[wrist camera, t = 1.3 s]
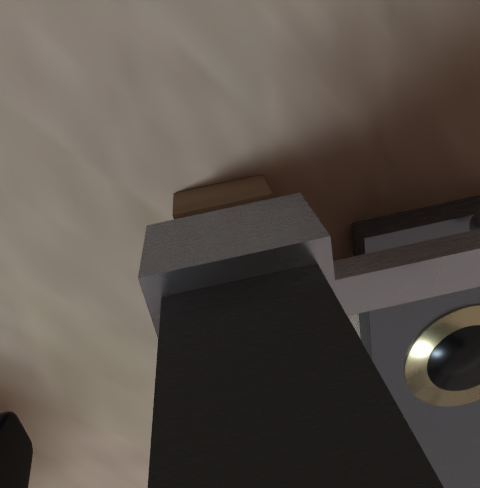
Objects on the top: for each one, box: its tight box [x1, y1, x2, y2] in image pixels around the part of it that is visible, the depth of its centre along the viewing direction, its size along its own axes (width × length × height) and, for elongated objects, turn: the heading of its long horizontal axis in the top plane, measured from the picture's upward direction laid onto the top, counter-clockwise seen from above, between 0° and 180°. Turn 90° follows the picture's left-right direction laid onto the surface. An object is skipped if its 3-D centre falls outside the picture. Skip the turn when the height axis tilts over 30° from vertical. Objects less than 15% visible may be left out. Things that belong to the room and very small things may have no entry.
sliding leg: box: [138, 193, 480, 488], centre depth 8 cm, size 4×9×8 cm, turn 100°
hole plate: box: [352, 196, 480, 488], centre depth 18 cm, size 22×6×1 cm, turn 10°
